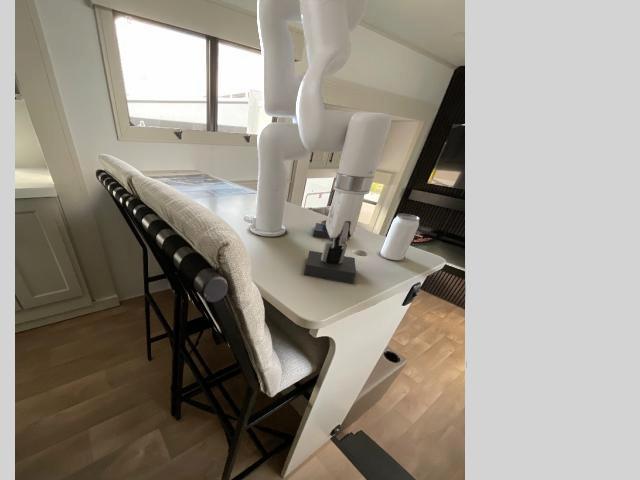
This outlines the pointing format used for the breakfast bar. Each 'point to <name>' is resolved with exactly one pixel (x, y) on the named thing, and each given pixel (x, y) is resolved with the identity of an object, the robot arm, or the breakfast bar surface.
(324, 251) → the timer knob
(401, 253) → the can
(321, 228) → the button block
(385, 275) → the breakfast bar surface
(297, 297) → the breakfast bar surface
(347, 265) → the panel
